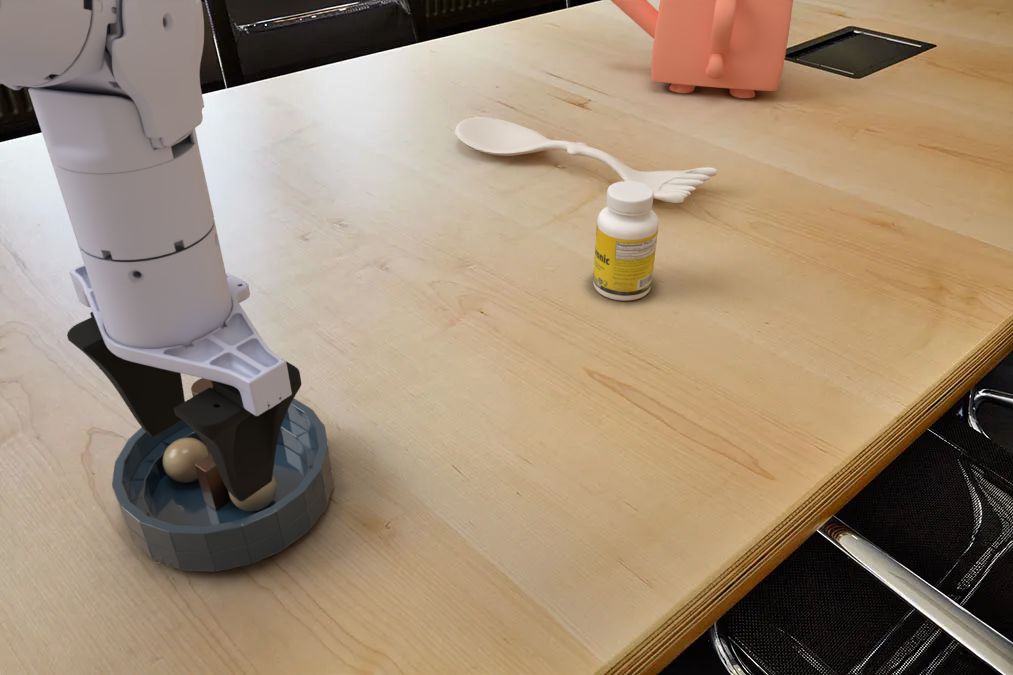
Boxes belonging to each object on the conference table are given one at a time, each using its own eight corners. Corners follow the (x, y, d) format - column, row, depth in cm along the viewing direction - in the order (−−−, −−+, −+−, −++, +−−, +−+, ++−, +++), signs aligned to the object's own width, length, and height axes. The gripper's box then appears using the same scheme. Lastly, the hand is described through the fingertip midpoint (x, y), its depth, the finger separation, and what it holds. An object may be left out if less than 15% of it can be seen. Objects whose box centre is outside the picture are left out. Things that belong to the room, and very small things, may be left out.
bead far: (181, 499, 56) (159, 469, 55) (171, 474, 59) (150, 444, 57) (223, 475, 57) (203, 444, 56) (211, 451, 60) (192, 421, 58)
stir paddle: (219, 513, 55) (190, 406, 50) (201, 500, 56) (171, 394, 51) (263, 481, 58) (240, 376, 52) (245, 470, 59) (221, 365, 53)
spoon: (678, 225, 89) (683, 194, 87) (440, 150, 104) (439, 123, 102) (715, 194, 95) (720, 165, 93) (485, 127, 110) (485, 101, 108)
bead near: (249, 517, 53) (230, 472, 53) (233, 521, 55) (214, 479, 55) (291, 496, 55) (272, 453, 55) (273, 501, 57) (255, 460, 57)
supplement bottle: (589, 271, 81) (596, 176, 76) (646, 271, 81) (657, 176, 76) (595, 302, 77) (602, 204, 71) (655, 302, 77) (667, 204, 71)
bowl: (210, 615, 50) (196, 570, 47) (88, 509, 56) (70, 465, 54) (374, 487, 58) (369, 443, 56) (251, 408, 65) (242, 365, 62)
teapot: (593, 98, 119) (602, -39, 109) (612, 50, 137) (622, -72, 127) (778, 114, 115) (806, -27, 104) (773, 62, 133) (796, -63, 122)
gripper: (327, 246, 37) (357, 474, 45) (135, 157, 44) (190, 367, 52) (185, 318, 32) (246, 558, 40) (-3, 206, 39) (80, 427, 47)
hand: (207, 455), depth 46 cm, fingers open, 7 cm apart
